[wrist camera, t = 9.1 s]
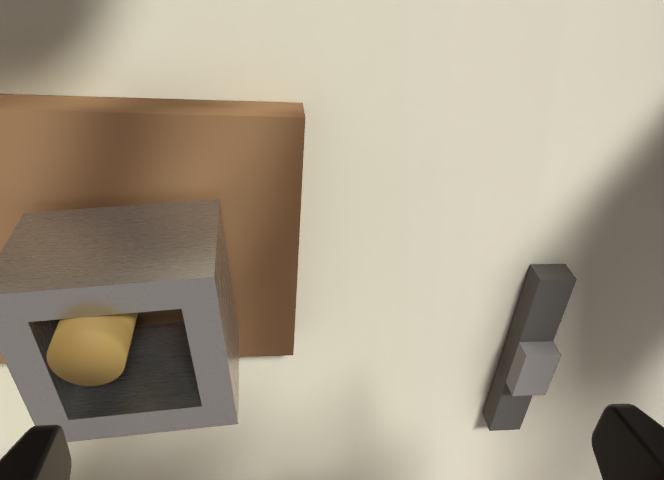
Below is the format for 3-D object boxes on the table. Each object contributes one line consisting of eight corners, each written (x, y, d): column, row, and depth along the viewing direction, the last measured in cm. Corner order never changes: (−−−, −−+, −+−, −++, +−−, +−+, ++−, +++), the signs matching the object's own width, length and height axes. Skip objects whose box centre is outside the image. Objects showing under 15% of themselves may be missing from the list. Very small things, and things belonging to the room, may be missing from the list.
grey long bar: (565, 264, 24) (585, 292, 23) (512, 412, 29) (526, 443, 28) (530, 264, 24) (548, 292, 22) (482, 413, 29) (495, 445, 27)
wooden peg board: (302, 102, 19) (320, 199, 14) (291, 334, 24) (301, 464, 19) (-105, 90, 17) (-254, 195, 12) (-19, 341, 23) (-96, 485, 18)
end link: (219, 199, 19) (214, 276, 16) (239, 336, 22) (237, 423, 19) (23, 213, 18) (-26, 296, 15) (74, 351, 22) (43, 444, 18)
